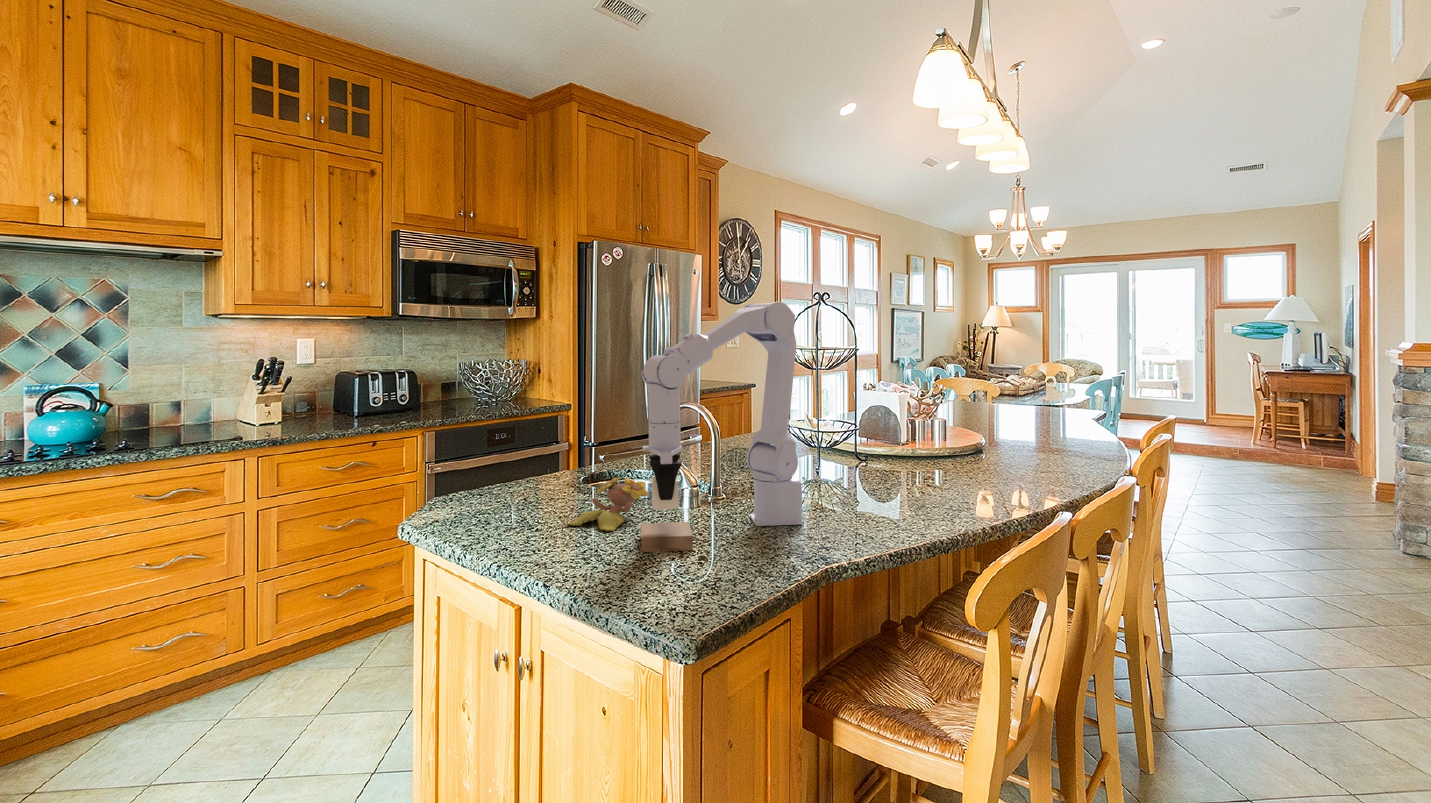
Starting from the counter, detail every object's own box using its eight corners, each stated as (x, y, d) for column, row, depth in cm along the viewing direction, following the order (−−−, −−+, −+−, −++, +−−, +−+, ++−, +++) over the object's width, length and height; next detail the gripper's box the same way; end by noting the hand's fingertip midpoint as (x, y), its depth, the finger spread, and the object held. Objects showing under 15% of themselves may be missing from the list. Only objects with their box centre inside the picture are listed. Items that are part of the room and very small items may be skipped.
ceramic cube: (676, 502, 128) (676, 475, 127) (678, 508, 123) (678, 481, 123) (651, 503, 127) (651, 476, 127) (652, 509, 123) (652, 482, 122)
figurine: (560, 523, 137) (591, 460, 145) (583, 544, 144) (610, 483, 152) (612, 531, 132) (640, 465, 140) (632, 553, 138) (658, 489, 146)
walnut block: (688, 537, 131) (688, 521, 131) (692, 552, 122) (692, 535, 122) (641, 539, 130) (641, 523, 130) (641, 554, 121) (641, 537, 121)
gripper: (642, 417, 130) (643, 487, 132) (642, 427, 116) (643, 506, 117) (679, 416, 131) (680, 486, 132) (683, 427, 117) (684, 505, 118)
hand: (665, 496), depth 125 cm, fingers closed on ceramic cube, 5 cm apart
